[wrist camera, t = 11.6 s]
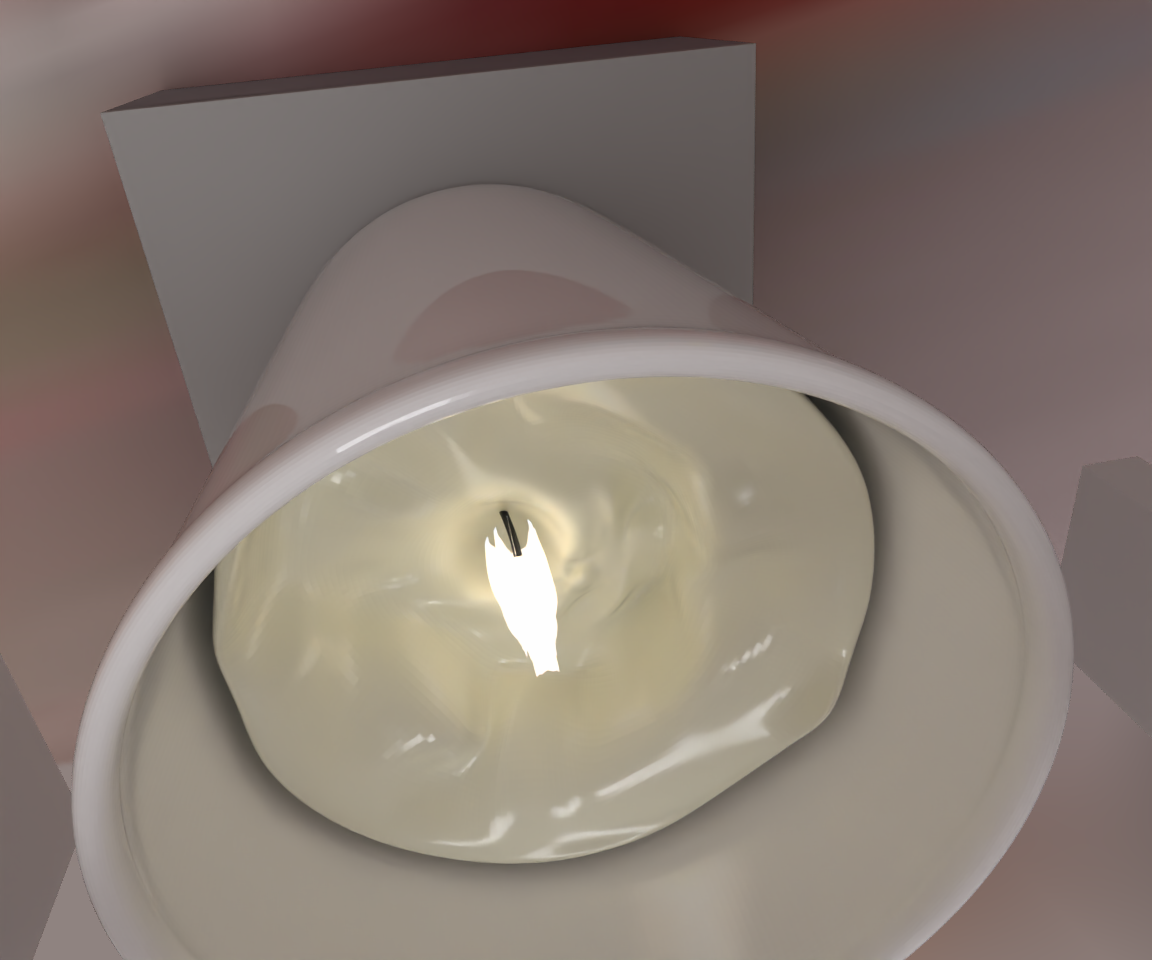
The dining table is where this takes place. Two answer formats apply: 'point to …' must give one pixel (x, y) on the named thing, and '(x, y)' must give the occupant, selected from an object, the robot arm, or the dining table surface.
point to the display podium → (420, 176)
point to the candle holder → (569, 630)
